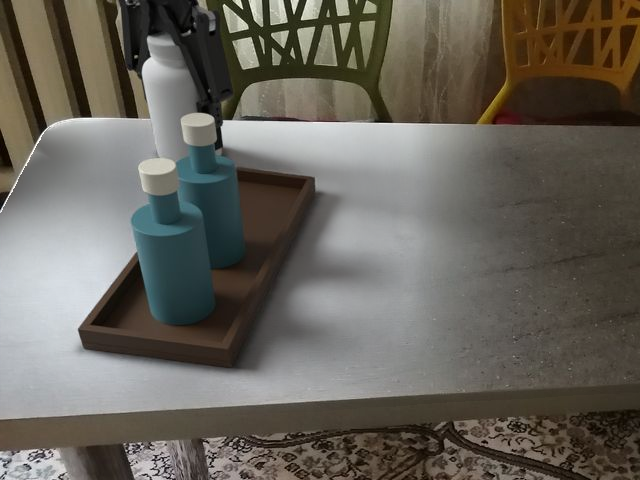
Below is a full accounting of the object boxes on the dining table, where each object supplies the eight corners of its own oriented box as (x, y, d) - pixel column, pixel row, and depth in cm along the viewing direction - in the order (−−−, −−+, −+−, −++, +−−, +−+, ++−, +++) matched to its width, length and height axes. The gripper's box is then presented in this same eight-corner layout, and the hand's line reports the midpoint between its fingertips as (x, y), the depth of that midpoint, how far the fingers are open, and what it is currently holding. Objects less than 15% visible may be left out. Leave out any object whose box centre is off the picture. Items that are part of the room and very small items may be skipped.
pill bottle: (146, 150, 96) (123, 31, 87) (204, 136, 101) (188, 21, 91) (175, 176, 92) (154, 53, 82) (234, 160, 97) (220, 42, 87)
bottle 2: (235, 272, 77) (218, 137, 68) (178, 264, 77) (153, 128, 68) (252, 241, 82) (239, 110, 72) (198, 234, 82) (178, 102, 72)
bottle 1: (203, 329, 70) (179, 187, 60) (140, 321, 70) (106, 178, 60) (224, 292, 75) (205, 154, 65) (164, 284, 75) (136, 145, 65)
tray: (231, 368, 68) (228, 349, 66) (83, 348, 68) (77, 329, 66) (315, 193, 93) (315, 176, 91) (207, 179, 93) (204, 162, 91)
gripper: (256, -43, 80) (271, 154, 94) (117, -83, 86) (151, 107, 101) (204, -30, 74) (228, 176, 89) (61, -74, 81) (105, 124, 96)
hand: (187, 139), depth 95 cm, fingers closed on pill bottle, 8 cm apart
